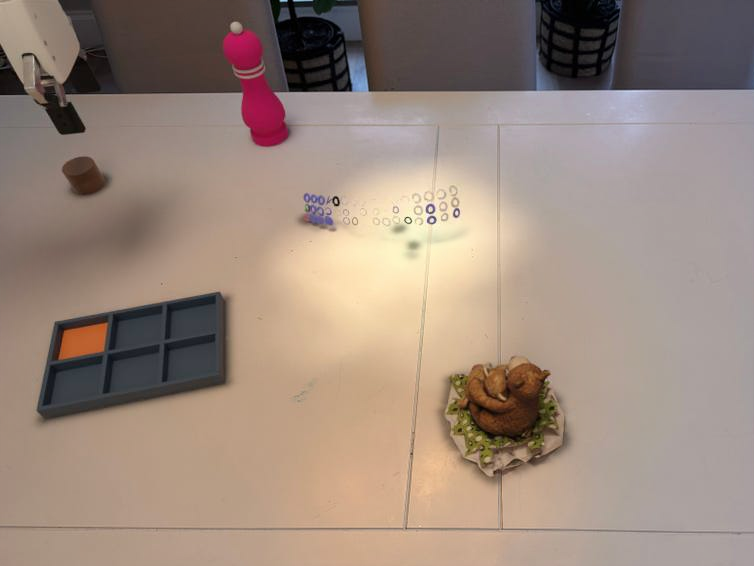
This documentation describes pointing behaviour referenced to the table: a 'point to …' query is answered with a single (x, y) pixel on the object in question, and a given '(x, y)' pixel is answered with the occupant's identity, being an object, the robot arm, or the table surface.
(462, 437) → the bear figurine
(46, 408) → the grid
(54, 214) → the table surface
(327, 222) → the ring set
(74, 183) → the brown cylinder
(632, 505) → the table surface
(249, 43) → the pepper mill
